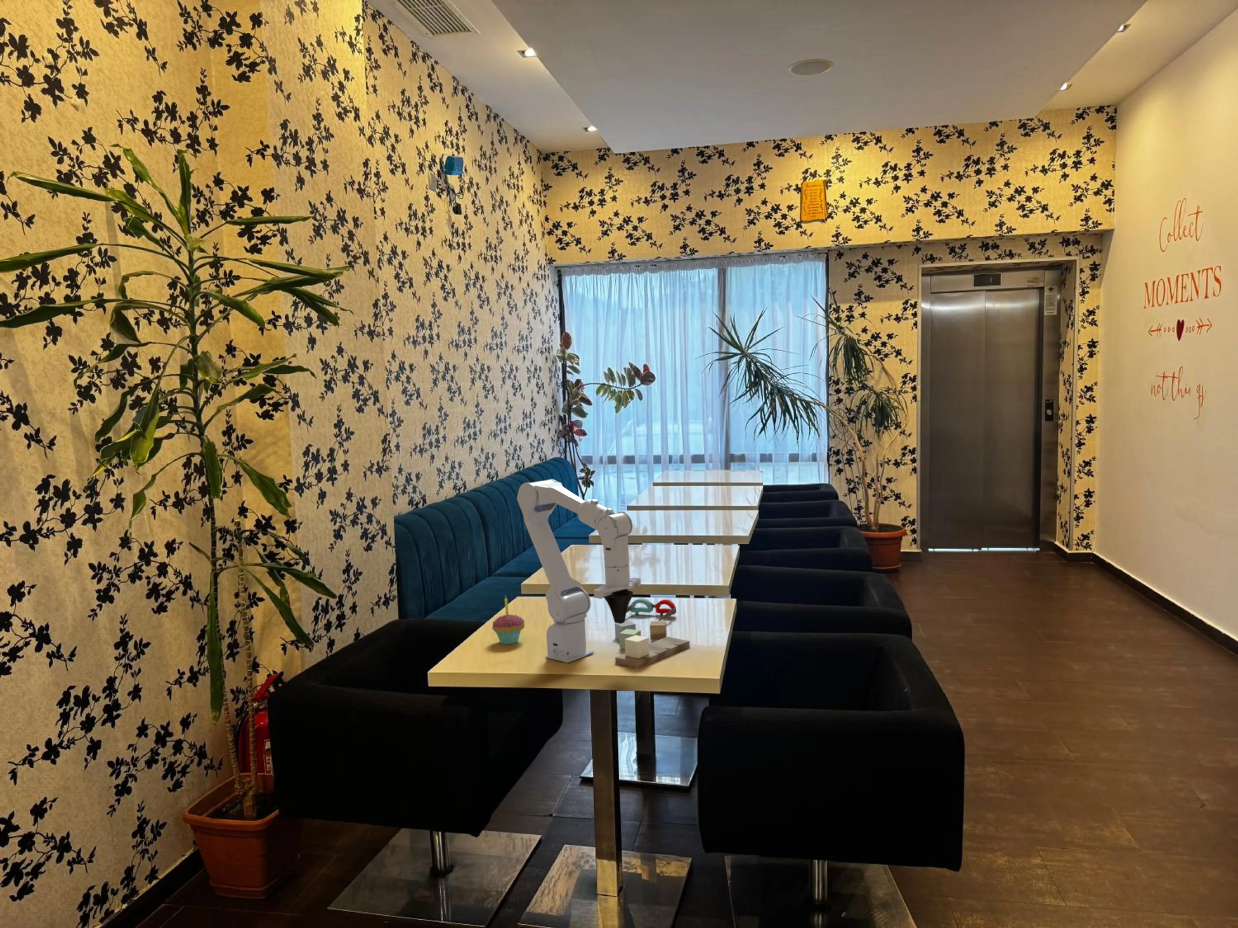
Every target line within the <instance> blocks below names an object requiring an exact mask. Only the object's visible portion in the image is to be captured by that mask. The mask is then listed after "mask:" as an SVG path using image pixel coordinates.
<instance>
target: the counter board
mask: <svg viewBox="0 0 1238 928" xmlns="http://www.w3.org/2000/svg"><path fill="white" fill-rule="evenodd" d="M690 647H691V645H690V640H688V639H687V640H686V639H681V638H677V637H670V636H667V637H665V638H663V639H660V640H654V641H653V642H649V654H648V655H646V656H643V657H641V658H639V659H638V658H634V657H629V656H626V655H625V653H623V654H620V655H617V656H615V657H614V658H615V660H614V662H615V664H617V665H621V666H625V667H628V668H629V667H630V668H633V669H641V668H643V667H645V666H648V665H650V664H653V663H655V662H657V661H660V660H662V659H665V658H667V657H669V656H671V655H674V654H677V653H679V652H680V651H683V650H686V649H688V648H690Z"/></svg>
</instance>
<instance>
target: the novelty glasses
mask: <svg viewBox="0 0 1238 928" xmlns="http://www.w3.org/2000/svg"><path fill="white" fill-rule="evenodd" d="M638 604H643V605H645V606H637V607H636V605H638ZM662 605H666V606H668V607H669V608H666V607H662V608H661V606H662ZM654 609H655V613H657V614H659V616H660V615H662V616H660V618H659V619H658V621H663V620H665V619H667V618H669V617H671V616H673V615H675V614H677V607H676V605H675V603H674V602H673V601H671V600H670V599H666V598H665V599H661V600H660V601H658V602H657V603H656V604H653V603H652V602H651V601H650V600H649V599H647V598H642V597H641V598H637V599H635V600H633V601H632V602H631V604H629V605H628V609H627V613H629V612H631V613H634V616H637V615H638V614H639V613H647V614H649V613H652V612H653V611H654Z"/></svg>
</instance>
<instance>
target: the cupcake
mask: <svg viewBox="0 0 1238 928" xmlns="http://www.w3.org/2000/svg"><path fill="white" fill-rule="evenodd" d="M504 608H505V614H504V615H501V616H498V617H497V618H496V619H494V621H493V622H492V628H491V629H492V630H493V631H494V632H495V634H496V637H498V638H497V639H498V640H499V644H502V645H513V644H517V643H518V642H519V638H520V636H521V631H522V630H523V629H524V628H525V626H526V625H525V620H524V619H523V618H522V617H521V616H519V615H517V614H510V613H509V605H508V598H507V595H505V596H504Z"/></svg>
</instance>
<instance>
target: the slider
mask: <svg viewBox="0 0 1238 928" xmlns="http://www.w3.org/2000/svg"><path fill="white" fill-rule="evenodd" d="M649 638H650V637H648V636H642V635H641V636H638V635H635V636H632V637H629V638H627V639H625V649H624V654H625V655H626V656H629V657H634V658H638V659H639V658H641V657H643V656H646V655H648V654H649V644H650V642H649Z"/></svg>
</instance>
